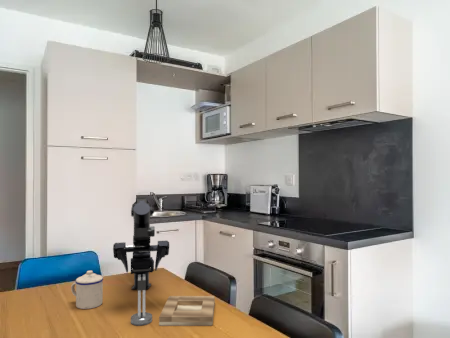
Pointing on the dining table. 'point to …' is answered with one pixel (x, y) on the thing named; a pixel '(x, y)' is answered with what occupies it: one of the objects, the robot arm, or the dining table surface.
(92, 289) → the teacup with lid
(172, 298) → the square wooden tray
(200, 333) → the dining table surface
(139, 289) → the round base pedestal
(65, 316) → the dining table surface
